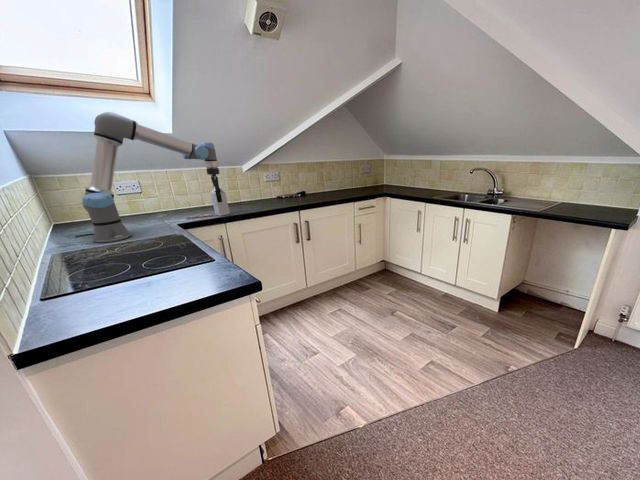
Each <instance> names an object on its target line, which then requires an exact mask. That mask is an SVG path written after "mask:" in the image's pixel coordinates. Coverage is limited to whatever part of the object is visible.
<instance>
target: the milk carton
mask: <svg viewBox="0 0 640 480" xmlns="http://www.w3.org/2000/svg"><path fill="white" fill-rule="evenodd" d="M219 188H220V193H221V198H222V202H218V201H217V196H216V192H215V191H216V190H215V186H214V188H213V189H212V191H211V192H210V197H211V201H212V206H213V210H214V215H215V216H218V217H222V216H227V215H230V214H231V212H230V208H229V203H228V197H227V194H226V191H224V190H223V188H221V187H219Z"/></svg>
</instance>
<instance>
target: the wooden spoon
mask: <svg viewBox="0 0 640 480" xmlns="http://www.w3.org/2000/svg"><path fill="white" fill-rule="evenodd" d="M210 217H213V213H207V214H206V213H205V214H201V215H194V216H193V215H192V216H187V217H186V219H187V220H189V219H190V220H191V219H198V218H210Z"/></svg>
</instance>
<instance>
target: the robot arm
mask: <svg viewBox="0 0 640 480" xmlns="http://www.w3.org/2000/svg"><path fill="white" fill-rule="evenodd" d="M93 137H94V138H95V139H96V146H95V152H94V157H93V164H92V171H91V178H90V184H89V186H86V187H85V190H84V195H83V196H82V206H83V208H84V210H85V211H86V212H87V214H88V215H89V218H90V221H91V223H92V226H93V233H85V234H78V235H74V236H75V238H80V237H86V236H93V240H94V242H95V243H97V244H107V243H114V242H119V241H124V240H126V239H129V238H130V237H132V235H131V233H130V231H129V230H128V229H127V228H126V226H125V225H124V224H123V222H122V220H121V217H120V213H119V211H118V209H117V206H116V203H115V193H114V192H113V191H112V189H113V181H114V176H115V170H116V163H117V157H118V151H119V147H121V146H123V145H124V144H123V143H124V139H128V140H131V141H135V140H137V141H140V142H144V143H146V144H147V143H148V144H150V145H153V146H157V147H160V148H163V149H166V150H169V151H171V152H175V153H178V154H181V156H182V158H183V159H184V160H200V161H201V160H202V161H204V165H205V168H206V175H208V176H209V175H210V176H211V177H210V180H211V183H212V187H213V189H214V186H215V190H216V191H215V192H216V196H217V201H218V202H222V198H221V193H220V188H221V187H220V184H219V177H218V176H217V175H220V169H219V164H220V163H219V162H218V158H217V154H216V148H215V145H214V143H213V142H200V145H198V144H195V143H193V142H189V141H187V140H184V139H182V138H178V137H176V136H173V135H169V134H167V133H164V132H161V131H159V130H156V129H152V128H150V127H147V126H144V125H142V124H139V123H138V121H135V120H133V119H130V118H128V117H125V116H123V115H121V114H119V113H116V112H113V111H105V112H102V113H100V114H97V116H96V117H95V119H94V130H93Z"/></svg>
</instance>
